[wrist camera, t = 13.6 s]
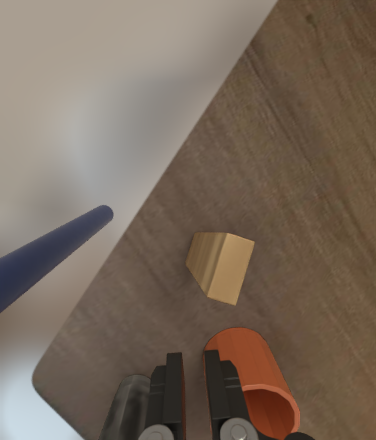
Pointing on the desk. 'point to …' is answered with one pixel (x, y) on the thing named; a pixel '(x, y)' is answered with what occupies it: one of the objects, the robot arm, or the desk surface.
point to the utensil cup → (258, 381)
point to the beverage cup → (127, 410)
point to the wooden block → (219, 264)
